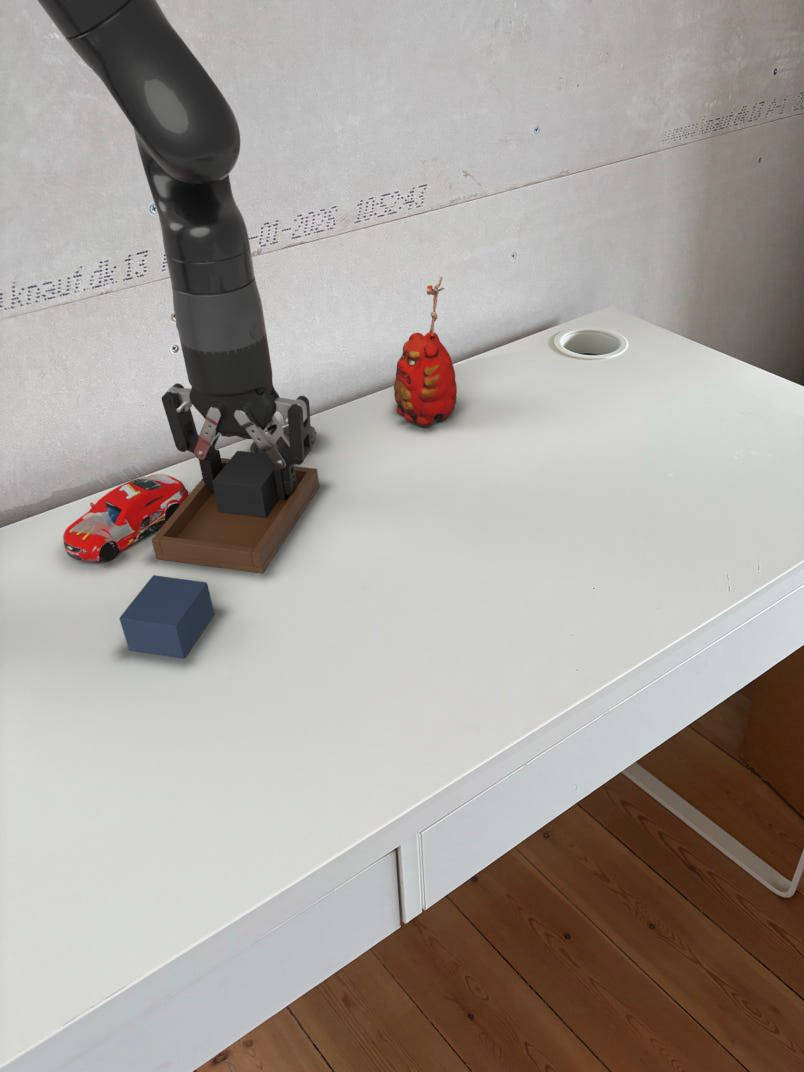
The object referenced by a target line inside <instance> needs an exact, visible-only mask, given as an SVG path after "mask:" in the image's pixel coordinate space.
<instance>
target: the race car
mask: <svg viewBox="0 0 804 1072" xmlns="http://www.w3.org/2000/svg"><path fill="white" fill-rule="evenodd" d="M189 494H190V492H189V490H188V489H186V487H185V484H184V483H183V482H182V481H181V480H179V479H177V478H175V477H173V476H171V475H168V474H166V473H159V474H151V475H148V476H142V477H139V478H135V479H133V480H132V479H131V480H130V481H127V482H125V483H123V484H121V485H119V486H117V487H115V488H113V489H112V490H110V491H108V492H107V493H105V495H103V496H101V498H99V499H98V500H97V501H96V503H94V502H89V505H90V509H89V511H87V512H86V513H84V514H83V515H82V516H80V517H79V518H77V519H76V520H75V521H73V522H72V523H71V524H69V525H68V526H67V528H66V529H65V531H64V532H63V534H62V541H63V546H64V551H65V552H66V554H67V555H68V556H69V557H70V558H71V559H74V560H77V561H82V562H99V561H103V562H110V561H113V560H114V559H115V558H116V557H117V554H118V551H120V552H121V551H123V550H124V549H126V548H128V547H129V546H131V545H133V544H135V543H137V542H138V541H139V540H141V539H143V538H145V537H146V536H148V535H150V534H152V533H153V532H155V531H157V530H158V529H161V528H162V526H163V525H164V524H165V523H166V522H167V520H168V519H169V518H170V517H171V516H172V514H173V513H174V512H175V511H176V510H177V508H178V507H179V506H180V505H181V504H182V502H183V501H184V500H185V499H186V498H187V496H188V495H189Z"/></svg>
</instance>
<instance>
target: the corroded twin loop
mask: <svg viewBox="0 0 804 1072" xmlns="http://www.w3.org/2000/svg"><path fill="white" fill-rule="evenodd" d="M283 430H284V435H285V437H286V438H287V440H288V441H289V427H288V425H286V426H284V427H283ZM316 436H317V431H316V429H315V427H314V426H312V425H311V444H312V445H313V442H314V439H315V438H316ZM289 443H290V442H289ZM249 452H254V453H263V454H266V452H265V451H261V450H260V449H259V448H258V447H257V445H256V444H255V442H254V441H253V442H252V443H251V444H250V447H249Z"/></svg>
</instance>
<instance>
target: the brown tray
mask: <svg viewBox="0 0 804 1072" xmlns="http://www.w3.org/2000/svg"><path fill="white" fill-rule="evenodd" d="M230 459H231V458H225V457H221V461H222V466H223V468H224V467H225V465H226V464H227V463H228V462H229V460H230ZM295 472H296V479H297V486H296V489H295V490H294V491H293V493H292V494H291V495H290V496H289V498H288V499H287V500H279V501H278V502H277V503H276V505H275V506H274V508H273V509H272V510H271V512H270V513H269V515H268V516H267V518H263V517H255V516H247V515H238V514H230V513H222V512H219V511H218V506H217V501H216V497H215V492H212V491H210V490H209V486H206V484H205V483H204V481H203V477H202V479H200V480H199V482H198V483H197V484H196V486H195V487H194V488H193V489H192V491H190V492H189V495H188V496H187V498H186V499H185V500H184V501H183V502H182V504H181V505H180V506H179V507H178V508H177V510H176V511H175V512H174V513H173V514H172V516H171V517H170V518H169V519H168V520H167V521H166V523H165V524H164V525H163V526H161V527H160V528H159V530H158V531H157V533H156V534H155V535H154V536H153V537H152V538H151V543H152V547H153V552H154V554H155V555H154V556H155V559H156V560H161V561H169V562H175V563H183V564H190V565H191V564H192V565H197V566H205V567H206V566H207V567H213V568H221V569H229V570H234V571H235V570H236V571H243V572H249V573H259V574H263V573H264V572H265V571H266V569H267V568H268V567H269V565H270V563H271V562H272V560H273V558H274V557H275V555H276V554H277V553H278V551H279V549H280V548H281V546H282V545H283V543H284V542H285V540H286V539H287V538H288V536H289V534H290V533H291V531H292V530H293V528H294V527H295V525H296V523H297V522H298V521H299V519H300V517H301V516H302V514H303V513H304V512H305V510H306V509H307V507H308V506H309V504H310V502H311V501H312V499H313V498H314V496H315V495H316V493H317V492H318V491H319V489H320V482H319V474H318V468H314V467H305V466H298V465H295Z"/></svg>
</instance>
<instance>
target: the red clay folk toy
mask: <svg viewBox="0 0 804 1072" xmlns="http://www.w3.org/2000/svg"><path fill="white" fill-rule="evenodd" d="M442 281H443V276H440V277H439V281H438V283H437V284H436V285H435V286H433V285H432V284H431V285H430V284H429V285H427V286H426V294H427V295H428V296H430V295H431V296H433V298H432V303H433V305H432V312H430V317H431V323H430V327H429V331H428V332H427V333H426V334H424V335H423V333H420V332H413V333H411V334H410V335H409V338H408V340H407V341H405V342H404V343H403V346H402V354H401V356H400V358H399V359H398V360H397V363H396V371H395V380H394V382H393V390H394V392H393V393H394V394H393V395H394V401H395V402H396V404H397V405H396V413H397V414H399V415H400V416H403V417H404V420H405V421H407V422H408V423H410V424H412V425H415V426H417V427H421V428H422V427H423V428H429V427H432V425H433V424H435V423H436V422H437V423H441V422H443V421H445V420H447V419H448V418H449V417H450V416H451V415H452V413H453V411H454V410H455V406H456V404H457V398H458V397H457V394H458V391H457V388H458V387H457V381H456V372H455V368H454V365H453V360H452V358H451V355H450V353H449V351H448V349H446V346H445V345H444V344H443V343H442V341H441V340H440V338H439V336H438V335H439V334H438V333H436V332H435V322H436V321H437V319H439V318H438V314H437V312H436V309H437V304H438V297H439V293H440V292H441V291H443V290H445V288H444V287H440V286H441V284H442Z"/></svg>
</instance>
